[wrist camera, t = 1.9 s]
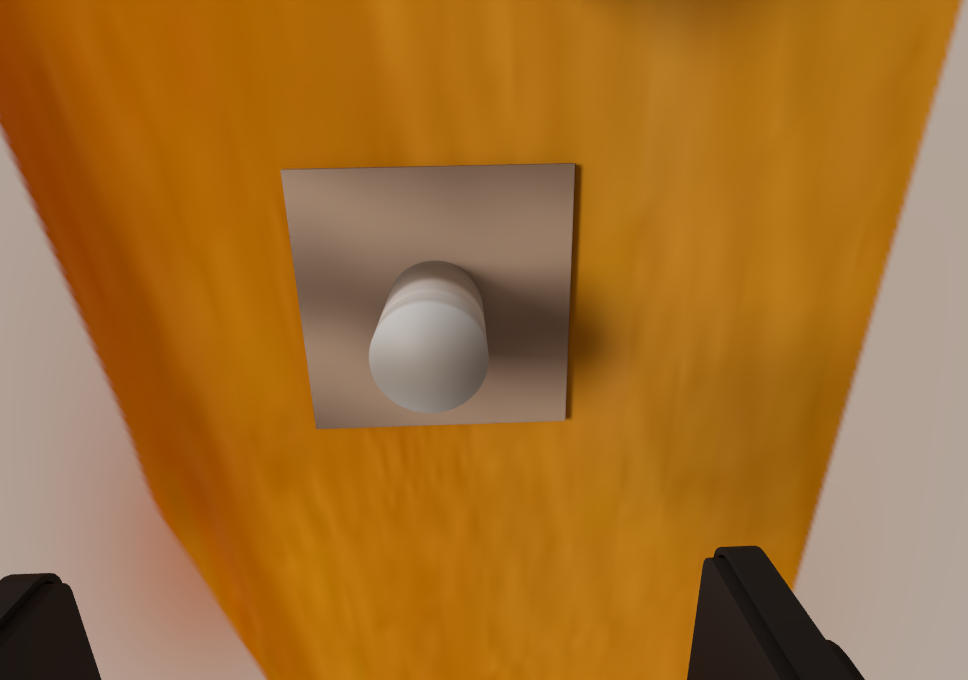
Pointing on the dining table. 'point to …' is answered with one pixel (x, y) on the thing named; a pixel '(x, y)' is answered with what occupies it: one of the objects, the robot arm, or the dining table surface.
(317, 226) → the lid
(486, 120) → the dining table surface
